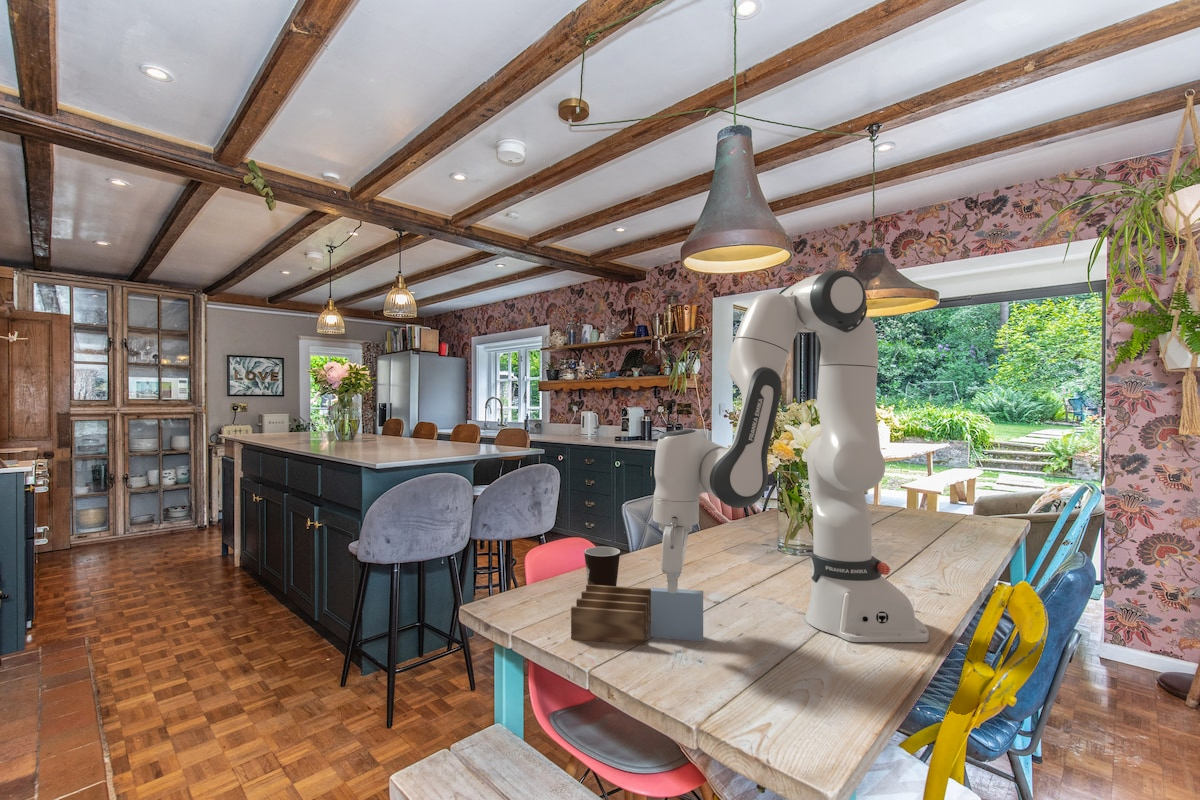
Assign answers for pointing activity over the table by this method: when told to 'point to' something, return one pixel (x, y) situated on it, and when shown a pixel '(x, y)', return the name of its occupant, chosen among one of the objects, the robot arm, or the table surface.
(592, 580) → the coffee mug
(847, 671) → the table surface
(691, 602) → the upright grey-blue slab
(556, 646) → the table surface
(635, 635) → the walnut rack
